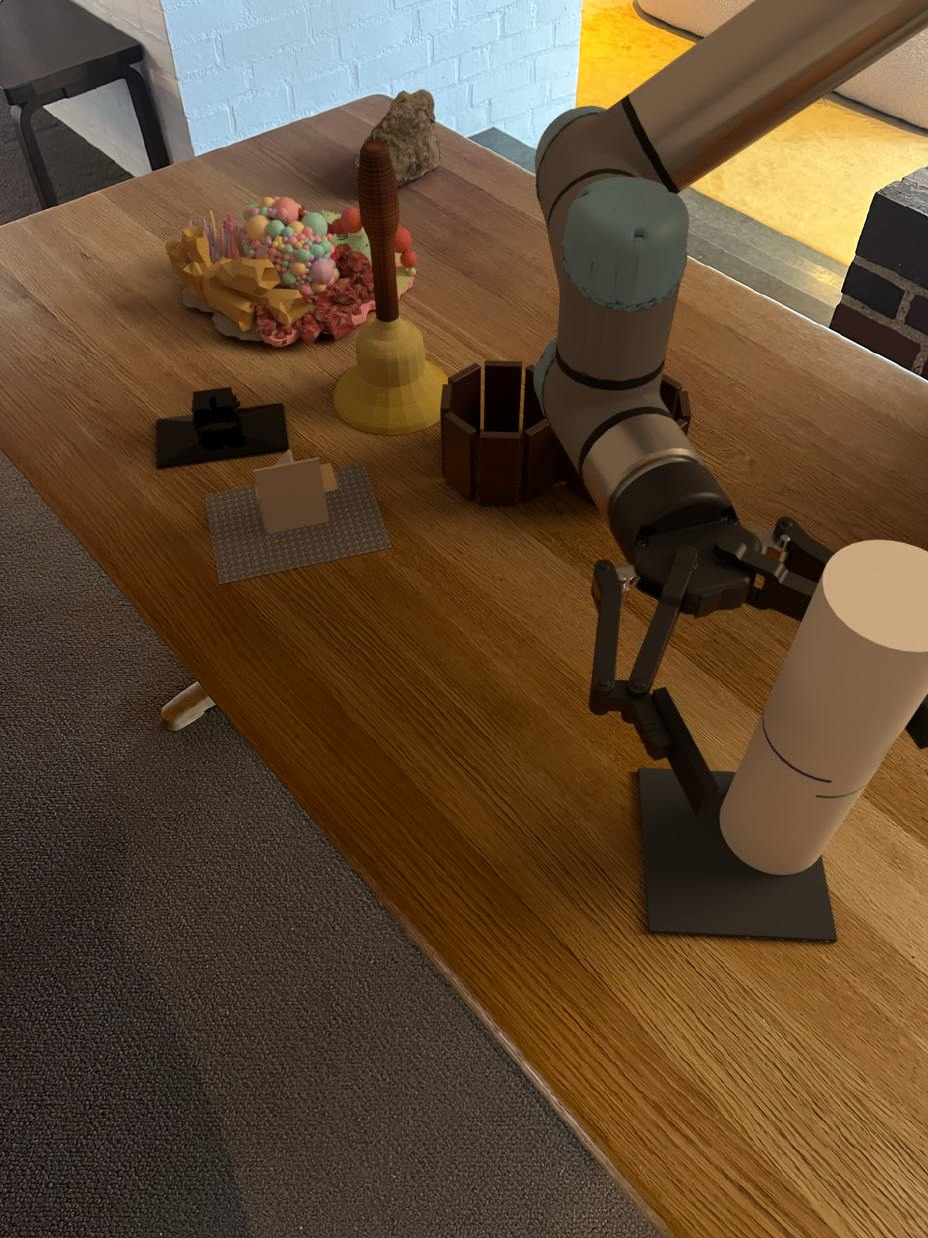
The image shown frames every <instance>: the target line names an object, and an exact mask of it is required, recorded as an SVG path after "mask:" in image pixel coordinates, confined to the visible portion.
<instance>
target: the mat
mask: <svg viewBox="0 0 928 1238" xmlns="http://www.w3.org/2000/svg"><path fill="white" fill-rule="evenodd" d="M710 771H711V773H712V775H713V777H714V779H715V781H716V783H717V784H718V786H719V789H718V791H717V793H716V796H715V798H714V801H713V803H712V805H711V808H710V810H709V812H707V813H704V814H701V815H697V816H696V815H695V813H694V811H693V809H692V807H691V805H690V803H689V801H688V799H687V797H686V795H685V793H684V791H683V789H682V787H681V785H680V783H679V781H678V779H677V777H676V775H675V773H674V771H673V769H672V768H657V767H655V768H654V767H653V768H652V767H638V769H637V780H638V781H637V782H639V784H638V796H639V797H640V799H639V811H640V812H641V814H640V827H641V826H642V829H641V842H643V844H642V855H643V854H644V859H643V871H644V873H643V874H644V888H645V901H646V919H647V932H648V931H649V932H648V933H649V934H658V933H664V934H663V935H678V934H682V935H681V936H698V935H699V937H700V936H701V935H706V936H705V937H718V938H737V937H741V938H740V939H747V938H746V937H750V938H749V939H757V938H761V940H763V939H762V938H768V939H767V940H777V939H784V940H783V941H796V940H799V942H804V941H803V940H806V941H805V942H816V941H822V942H821V943H826V942H825V941H829V942H828V943H837V941H838V940H839V939H838V933H837V929H836V924H835V918H834V913H833V909H832V908H833V907H832V903H831V898H830V892H829V887H828V882H827V876H826V871H825V867H824V861H823V856H822V854H821V855H820V857H819V858H818V859H817V860H816V861H815V863H814V864H813V865H812V866H810V867H808V868H807V869H805V870H804V871H801V872H798V873H795V874H788V875H776V874H770V873H766V872H762V871H760V870H757V869H755V868H753V867H751V866H750V865H748V864H746V863H745V862H743V861H742V860H741V859H740V858H739V857H738V856H737V855H735V853H734V852H733V851H732V850H731V848H730V847H729V846H728V844H727V842H726V840H725V839H724V837H723V834H722V830H721V827H720V811H721V807H722V804H723V802H724V799H725V797H726V795H727V792H728V790H729V788H730V786H731V783H732V781H733V779H734V776H735V774H736V772H737V771H721V770H710ZM639 797H638V798H639ZM640 809H641V810H640ZM726 936H727V937H726ZM701 937H702V936H701Z"/></svg>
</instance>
